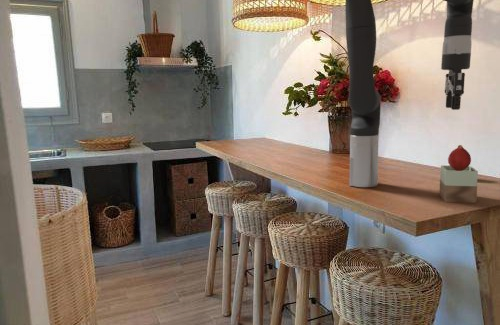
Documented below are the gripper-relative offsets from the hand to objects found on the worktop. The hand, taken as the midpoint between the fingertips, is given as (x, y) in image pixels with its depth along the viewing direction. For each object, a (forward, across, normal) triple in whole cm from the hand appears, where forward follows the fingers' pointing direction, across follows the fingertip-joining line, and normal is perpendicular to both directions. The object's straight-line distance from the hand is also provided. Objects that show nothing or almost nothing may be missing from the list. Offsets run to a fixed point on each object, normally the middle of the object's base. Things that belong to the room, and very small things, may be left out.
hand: (452, 108), depth 119 cm
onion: (+18, +8, +1) cm, 20 cm away
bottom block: (+26, +8, +1) cm, 27 cm away
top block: (+21, +8, +1) cm, 22 cm away
